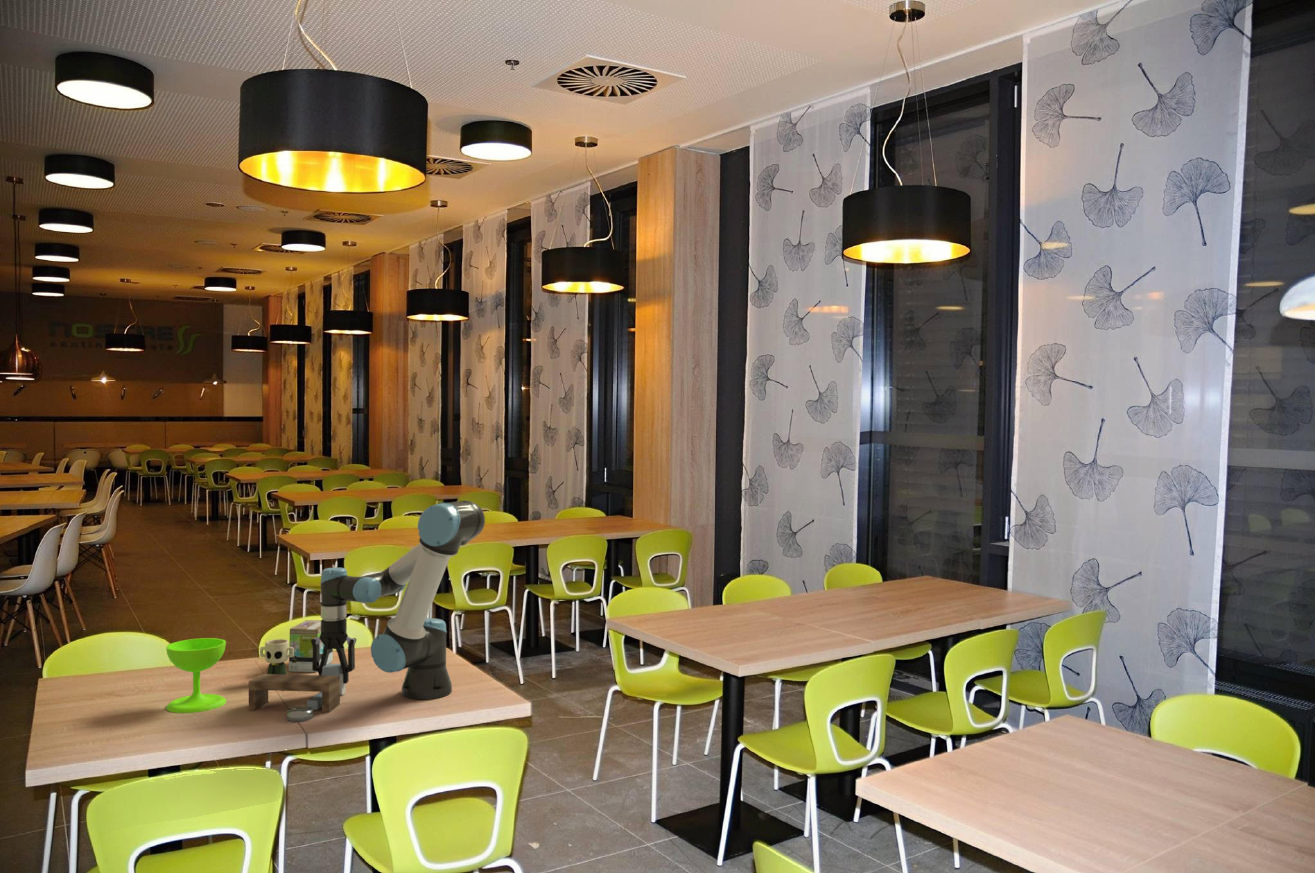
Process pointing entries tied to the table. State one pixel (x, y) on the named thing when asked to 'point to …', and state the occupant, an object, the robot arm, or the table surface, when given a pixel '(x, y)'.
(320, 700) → the push stick
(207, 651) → the wineglass
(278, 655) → the character mug
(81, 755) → the table surface
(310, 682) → the shelf
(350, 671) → the robot arm
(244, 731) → the table surface
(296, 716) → the token
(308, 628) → the tea box
